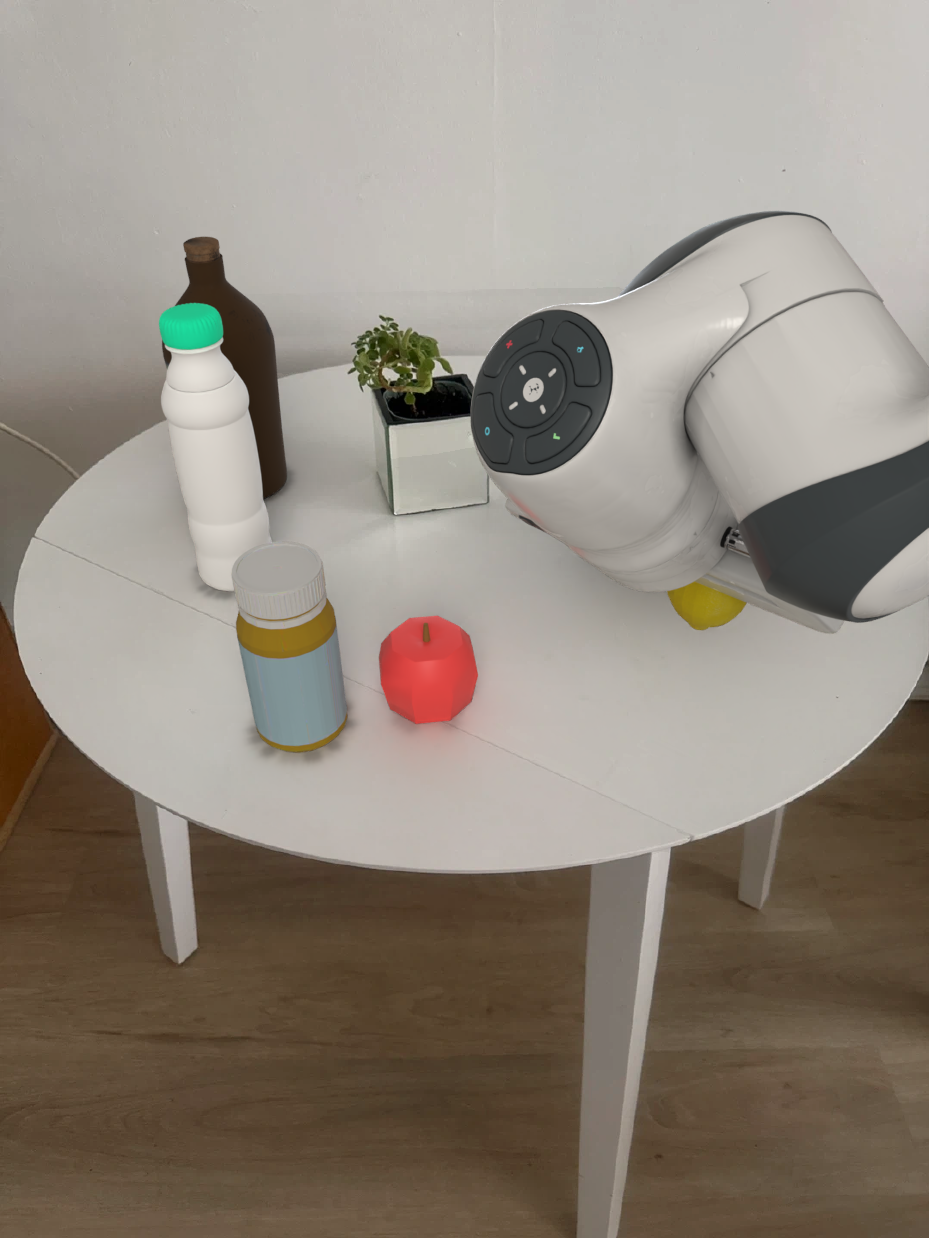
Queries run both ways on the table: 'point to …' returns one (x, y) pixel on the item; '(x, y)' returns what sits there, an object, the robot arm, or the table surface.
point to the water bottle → (212, 443)
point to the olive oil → (241, 352)
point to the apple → (428, 669)
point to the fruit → (704, 606)
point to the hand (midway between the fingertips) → (714, 570)
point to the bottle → (289, 646)
